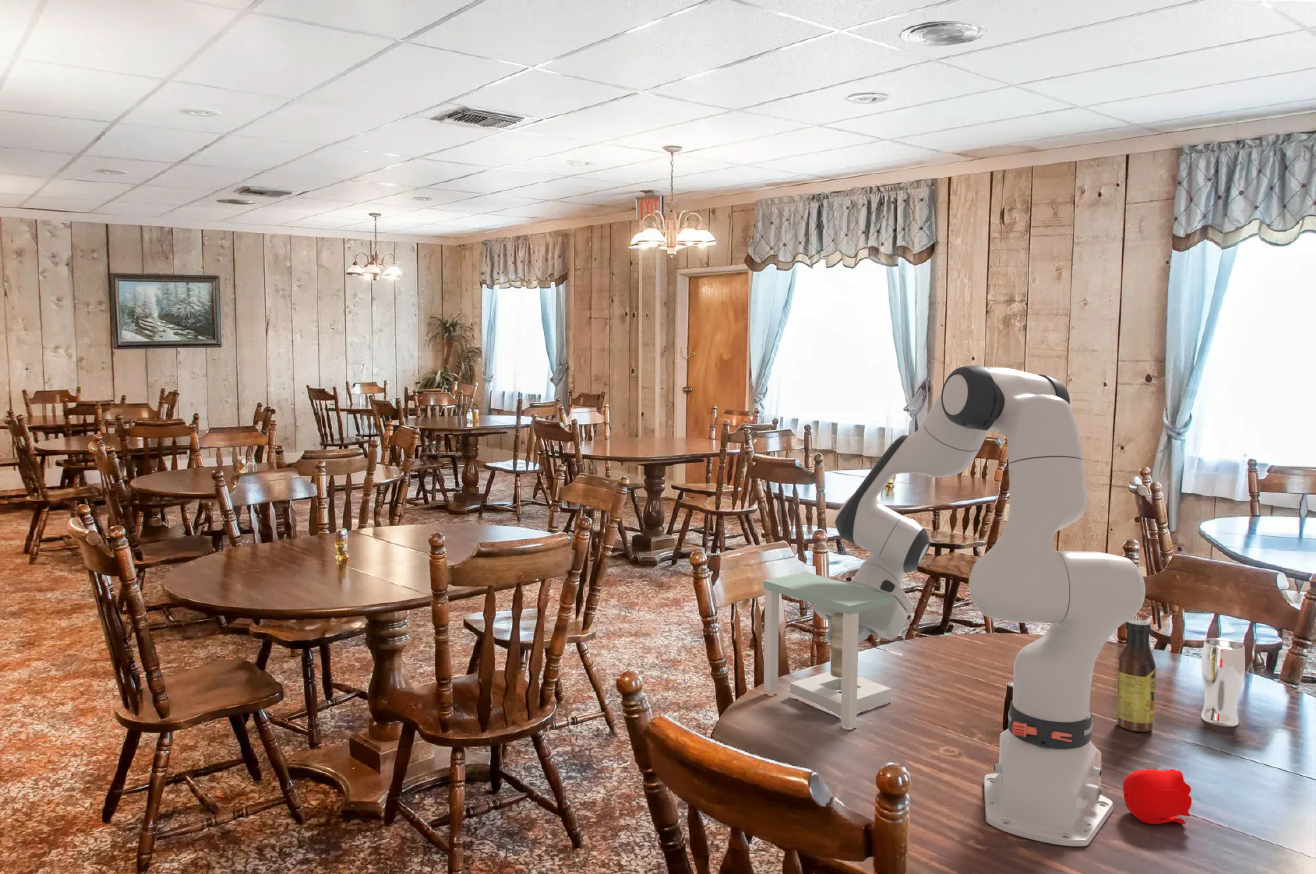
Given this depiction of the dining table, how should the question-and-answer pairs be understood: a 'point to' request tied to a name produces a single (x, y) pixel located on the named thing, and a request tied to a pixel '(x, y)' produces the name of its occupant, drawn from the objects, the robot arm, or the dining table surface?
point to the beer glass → (1222, 680)
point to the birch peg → (836, 644)
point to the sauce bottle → (1136, 679)
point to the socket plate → (824, 695)
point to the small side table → (829, 596)
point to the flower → (1157, 795)
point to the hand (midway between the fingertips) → (839, 643)
